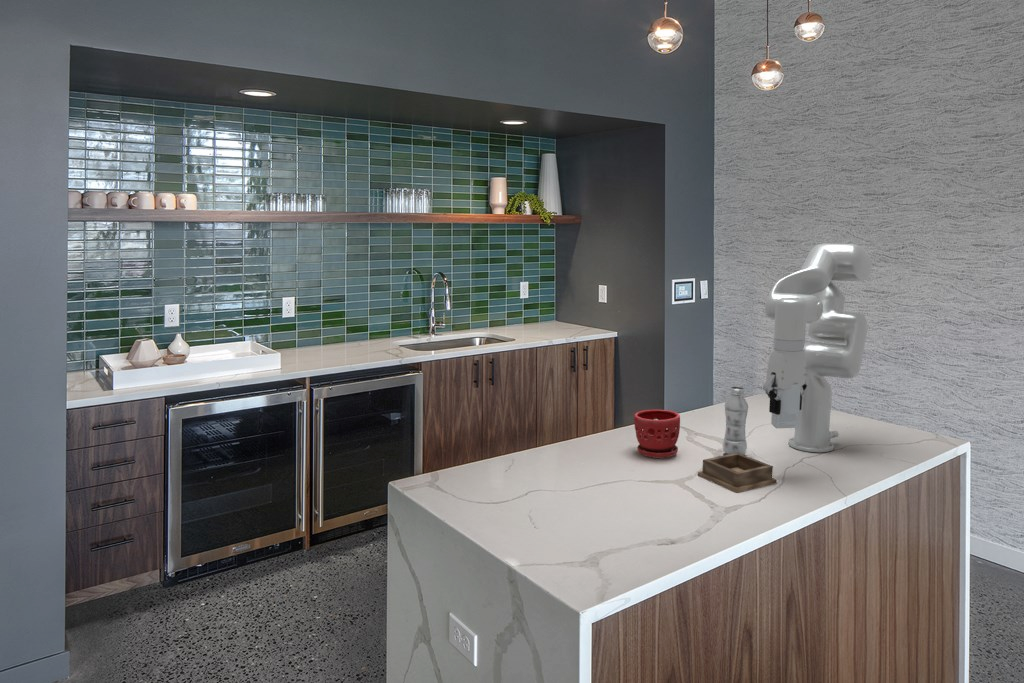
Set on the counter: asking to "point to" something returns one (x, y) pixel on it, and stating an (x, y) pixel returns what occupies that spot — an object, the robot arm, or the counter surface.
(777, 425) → the skincare box
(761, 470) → the square wooden tray
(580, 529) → the counter surface
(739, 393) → the plastic bottle
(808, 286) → the robot arm
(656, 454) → the plant pot
